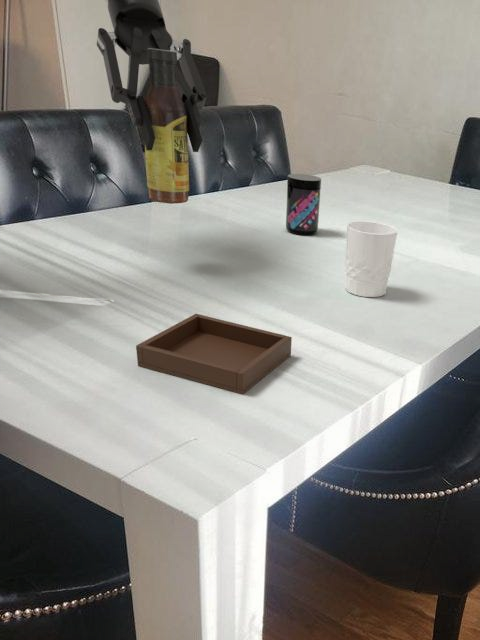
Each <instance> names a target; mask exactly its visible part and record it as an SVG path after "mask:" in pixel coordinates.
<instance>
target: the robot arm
mask: <svg viewBox="0 0 480 640" xmlns="http://www.w3.org/2000/svg"><path fill="white" fill-rule="evenodd" d="M104 2H105V5H106V7H107V10H108V11H107V12H108V14H109V18H110V22H111V25H112V28H113V31H107V30H106V29H105V28H103V27H99V28H98V29H97V30H98V31H97V35H96V37H97V38H96V47H97V48H98V50H99V52H100V53H101V55H102V58H103V62H104V67H105V73H106V77H107V82H108V87H109V93H110V97H111V100H112V101H113V103H116V104H119V103H122V104H124V109H125V110H126V111H127V112H129V116H130V119H131V122H132V124H133V125H134V126H137V127H139V128H140V131H141V135H142V136H141V137H142V139H143V142H144V147H145V146H146V149H147V150H152V148H153V144H154V141H155V135H154V132H153V128H152V125H151V122H150V118H149V115H148V111H147V108H146V104H145V101H144V99H145V97H144V96H143V95H138V85H139V84H138V83H139V71H140V65H143V66H144V65H149V61H148V58H147V48H153V49H161V50H169V51H175V52H176V53H177V61H179V67H180V69H181V71H182V72H181V71H180V69H179V67H178V66H177V65H176V76H177V84H178V85H177V87H178V91H179V94H180V97H181V100H182V103H183V106H184V109H185V112H186V115H187V136H188V141H189V142H190V146H191V150H192V152H193V153H199V150H200V148H201V146H202V142H203V137H202V134H201V131H200V128H201V125H202V116H201V113H200V110H202V109H203V108H204V106H205V103H206V99H207V98H208V94H207V91H206V88H205V86H204V83H203V81H202V78H201V76H200V73H199V71H198V67H197V65H196V63H195V59H194V58H193V55H192V43H191V41H190V40H189V39H187V38H183V40H182V42H181V41H178V40H175V39H173V37H172V35H171V34H170V32H169V31H168V30H167V27H166V21H165V18H164V15H163V11H162V8H161V6H160V5H161V4H160V1H159V0H105V1H104ZM116 45H117V46H118V47H119V48H120V49H121V50H122V51H123V52H124V53H125V54H126V55H127V56H128V65H127V66H128V67H127V68H128V69H127V70H128V71H127V79H126V80H127V81H126V88H125V87H123V82H122V77H121V72H120V68H119V67H120V66H119V62H118V57H117V52H116ZM137 95H138V96H137Z"/></svg>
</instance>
